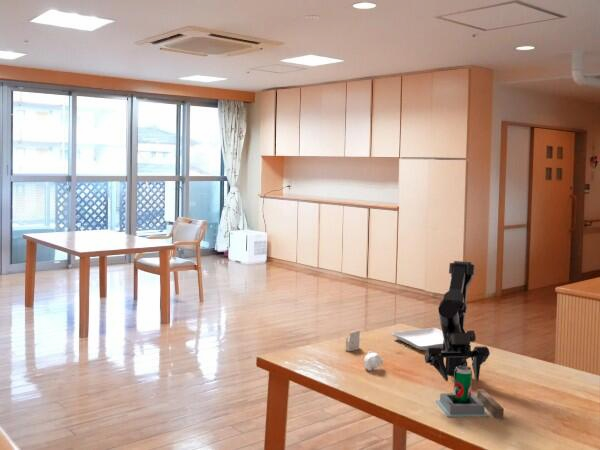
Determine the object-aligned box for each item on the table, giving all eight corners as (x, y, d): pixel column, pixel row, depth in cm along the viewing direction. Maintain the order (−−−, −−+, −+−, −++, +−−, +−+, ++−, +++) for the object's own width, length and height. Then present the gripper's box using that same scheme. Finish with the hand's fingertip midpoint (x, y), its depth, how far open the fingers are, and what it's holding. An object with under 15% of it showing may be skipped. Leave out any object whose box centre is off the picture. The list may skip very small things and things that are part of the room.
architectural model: (342, 350, 254) (343, 331, 253) (354, 347, 259) (354, 328, 258) (349, 352, 251) (349, 333, 251) (361, 348, 256) (361, 330, 255)
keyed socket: (435, 401, 201) (436, 392, 200) (474, 401, 202) (474, 391, 201) (447, 417, 189) (448, 407, 188) (488, 416, 190) (489, 406, 189)
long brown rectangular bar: (476, 398, 204) (477, 389, 203) (483, 398, 204) (483, 389, 204) (496, 419, 188) (496, 408, 188) (503, 419, 188) (503, 408, 188)
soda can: (470, 411, 192) (472, 371, 191) (452, 409, 193) (454, 369, 192) (470, 405, 197) (471, 365, 196) (452, 403, 198) (454, 364, 197)
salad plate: (419, 354, 250) (420, 345, 250) (390, 339, 270) (390, 331, 269) (465, 348, 259) (466, 340, 258) (434, 335, 278) (434, 327, 278)
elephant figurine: (387, 371, 229) (387, 354, 228) (366, 373, 226) (366, 356, 225) (378, 365, 235) (378, 349, 234) (357, 367, 232) (358, 350, 232)
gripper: (428, 320, 198) (437, 368, 188) (489, 320, 199) (501, 367, 189) (420, 339, 206) (429, 385, 197) (478, 338, 208) (490, 384, 198)
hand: (462, 380), depth 195 cm, fingers open, 9 cm apart
